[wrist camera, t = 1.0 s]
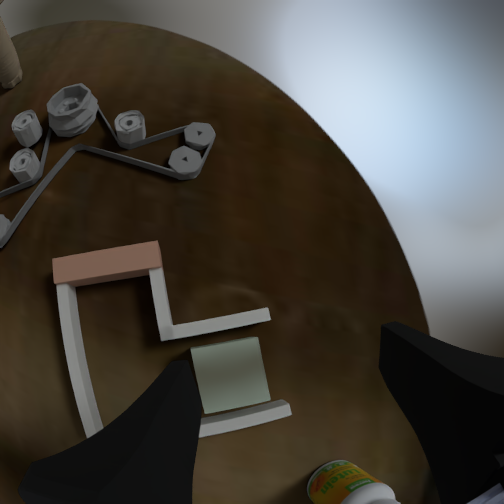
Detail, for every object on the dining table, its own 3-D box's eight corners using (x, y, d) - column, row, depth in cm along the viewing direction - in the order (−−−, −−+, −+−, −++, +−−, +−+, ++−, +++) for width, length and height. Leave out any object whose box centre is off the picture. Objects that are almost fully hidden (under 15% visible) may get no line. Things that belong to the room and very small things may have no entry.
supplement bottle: (342, 448, 24) (404, 483, 14) (363, 480, 23) (421, 516, 14) (295, 481, 22) (342, 532, 13) (319, 511, 21) (367, 559, 12)
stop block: (163, 272, 25) (160, 266, 22) (65, 288, 23) (54, 283, 20) (160, 249, 25) (157, 240, 23) (63, 265, 23) (52, 258, 21)
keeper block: (261, 393, 24) (270, 399, 21) (202, 405, 23) (204, 414, 20) (249, 336, 25) (257, 337, 22) (190, 347, 24) (190, 349, 21)
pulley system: (-18, 151, 24) (-21, 263, 21) (-34, 128, 20) (-47, 247, 17) (184, 81, 33) (226, 175, 30) (186, 52, 29) (234, 146, 25)
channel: (284, 409, 24) (291, 414, 22) (97, 441, 20) (90, 448, 18) (250, 258, 27) (255, 252, 25) (65, 288, 23) (56, 284, 21)
